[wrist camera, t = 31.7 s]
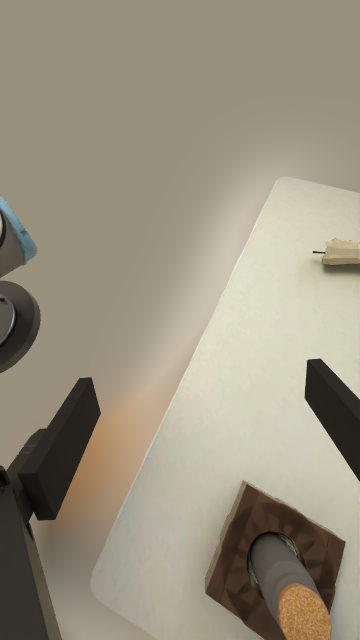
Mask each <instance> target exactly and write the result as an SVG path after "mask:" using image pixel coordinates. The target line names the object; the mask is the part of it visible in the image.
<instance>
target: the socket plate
mask: <svg viewBox="0 0 360 640" xmlns="http://www.w3.org/2000/svg"><path fill="white" fill-rule="evenodd" d="M268 531H273V532H280V533H282V534H284V535H285V536H287V537H289V538H290V539H291V540H292V542H293V545H294V547H295V550H296V552H297V558H298V560H299V561H300V562H301V563H302V565H303V566H304V567H305V569H306V570H307V572H308V573H309V574H310V576H311V578H312V579H313V581H314V583H315V586H316V589H317V591H318V592H319V594H320V596H321V599H322V601H323V602H324V604H325V606H326V608H327V611H328V613H329V615H330V611H331V607H332V603H333V599H334V595H335V583H336V579H337V575H338V571H339V567H340V563H341V559H342V555H343V551H344V547H345V543H346V542H345V541H344V540H342V539H341V538H340V537H338V536H337V535H336V534H334V533H333V532H331V531H330V530H328V529H326V528H324V527H323V526H321V525H319V524H318V523H316V522H314V521H313V520H311V519H309V518H307V517H306V516H304V515H303V514H302V513H300V512H299V511H298V510H297V509H295V508H293V507H292V506H290V505H288V504H287V503H285V502H283V501H281V500H280V499H278V498H273V497H272V496H270V495H268V494H267V493H265V492H263V491H261V490H260V489H258V488H256V487H255V486H253V485H251V484H250V483H248V482H246V481H244V480H243V482H242V485H241V487H240V490H239V492H238V495H237V497H236V500H235V503H234V505H233V508H232V510H231V513H230V514H229V515H228V516H227V519H226V522H225V524H224V527H223V529H222V532H221V534H220V542H219V544H218V547H217V549H216V552H215V554H214V557H213V560H212V562H211V565H210V567H209V570H208V573H207V575H206V578H205V593H206V594H207V595H209V596H210V597H211V598H213V599H214V600H215V601H217V602H218V603H220V604H221V605H222V606H224V607H225V608H226V609H228V610H229V611H231V612H232V613H233V614H235V615H236V616H237V617H239V618H240V619H241V620H242V621H243V623H244V624H245V625H246V626H248V627H249V628H250V629H252V630H253V631H254V632H256V633H257V634H258V635H260V636H261V637H263V638H264V639H265V640H287V639H286V637H285V635H284V633H283V631H282V630H281V628H280V627H279V625H278V623H277V621H276V620H275V618H274V617H273V616H272V614H271V613H270V611H269V609H268V607H267V604H266V602H265V600H264V597H263V594H262V592H261V589H260V586H259V584H257V583H256V582H255V581H254V580H253V578H252V577H251V576H250V574H249V573H248V571H247V553H248V551H249V548H250V545H251V543H252V542H253V540H254V539H255V538H256V537H257V536H258V535H259V534H262V533H265V532H268Z"/></svg>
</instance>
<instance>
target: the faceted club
mask: <svg viewBox="0 0 360 640" xmlns="http://www.w3.org/2000/svg"><path fill="white" fill-rule="evenodd" d="M325 244H326V246H327V248H326V252H317V251H313V253H324V254H325V255H324V256H323V257H322V260H323V262H322V264H328V265H337V264H350V263H352V264H360V243H355V242H353V241H351V240H339V239H333V240H331V241H329V242H326V243H325Z"/></svg>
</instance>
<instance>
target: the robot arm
mask: <svg viewBox="0 0 360 640" xmlns="http://www.w3.org/2000/svg"><path fill="white" fill-rule="evenodd" d="M36 254H37V247H36V245H35V243H34V241H33V240H32V238H31V237H30V235H29V234H28V232H27V231H26V230H25V228H24V227H23V225H22V224H21V222H20V221H19V219H18V218H17V216H16V215H15V213H14V212H13V211H12V209H11V208H10V207H9V205H8V204H7V203H6V201H5V200H4V199H3V198H2V197H1V196H0V278H1V277H3V276H4V275H6V274H8V273H9V272H11V271H13V270H14V269H16V268H17V267H19V266H21V265H25V264H26V262H27V261H29V260H30V259H32V258H33V257H34V256H35V255H36ZM16 323H17V310H16V307H15V305H14V303H13V302H12V301H11V300H10V299H8V298H7V297H6V296H4V295H2V294H0V347H1V346H3V345H4V344H5V343H6V341H7V340H8V339H9V338H10V336H11V335H12V333H13V331H14V329H15V326H16ZM305 399H306V401H307V402H308V404H309V406H310V407H311V409H312V410H313V412H314V413H315V415H316V416H317V418H318V419H319V421H320V422H321V424H322V425H323V427H324V428H325V430H326V431H327V433H328V434H329V436H330V437H331V439H332V440H333V442H334V443H335V445H336V447H337V448H338V450H339V451H340V453H341V454H342V456H343V457H344V459H345V460H346V462H347V463H348V465H349V466H350V468H351V469H352V471H353V472H354V474H355V475H356V477H357V478H358V480H359V481H360V399H359V398H358V397H357V396H356V395H355V394H354V393H353V392H352V391H351V390H350V389H349V388H348V387H347V386H346V385H345V384H344V383H343V382H342V381H341V380H340V378H339V377H338V376H337V375H336V374H335V373H334V372H333V371H332V370H331V369H330V368H329V367H328V366H327V365H326V364H325V363H324V362H323V361H322V360H321V359H310V360H307V372H306V386H305ZM100 414H101V412H100V408H99V405H98V401H97V397H96V393H95V389H94V385H93V382H92V378H90V377H89V378H79V380H78V381H77V383H76V384H75V386H74V388H73V389H72V390H71V392H70V394H69V395H68V397H67V398H66V400H65V401H64V403H63V404H62V406H61V408H60V409H59V410H58V412H57V414H56V415H55V417H54V418H53V420H52V421H51V423H50V425H49V426H48V427H47V428H46V429H39V430H38V431H36V433H34V434H33V435H32V436H31V437H30V438H29V439H28V441H27V442H26V444H25V445H24V447H23V448H22V449H21V451H20V452H19V455H17V456H16V458H15V459H14V461H13V462H12V463H11V465H10V466H9V468H8V469H7V471H5V469H4V467H3V466H0V640H62V638H61V635H60V631H59V627H58V624H57V620H56V617H55V613H54V609H53V606H52V602H51V598H50V594H49V591H48V587H47V584H46V580H45V576H44V572H43V569H42V565H41V561H40V558H39V554H38V550H37V547H36V543H35V539H34V536H33V532H32V528H31V525H30V523H29V520H30V518H31V516H32V514H33V512H34V513H35V515H36V517H37V520H55V519H56V517H57V514H58V512H59V510H60V507H61V505H62V502H63V500H64V498H65V496H66V493H67V491H68V488H69V486H70V483H71V481H72V479H73V477H74V474H75V472H76V470H77V467H78V465H79V463H80V460H81V458H82V456H83V453H84V451H85V449H86V446H87V444H88V442H89V439H90V437H91V435H92V432H93V430H94V427H95V425H96V423H97V421H98V418H99V416H100Z"/></svg>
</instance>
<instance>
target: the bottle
mask: <svg viewBox="0 0 360 640" xmlns="http://www.w3.org/2000/svg"><path fill="white" fill-rule="evenodd" d="M250 560H251V564H252V567H253V570H254V573H255V575H256V578H257V581H258V584H259V586H260V589H261V592H262V594H263V597H264V600H265V602H266V604H267V607H268V609H269V611H270V613H271V614H272V616H273V617H274V618H275V620H276V621H277V623H278V625H279V627H280V628H281V630H282V631H283V633H284V635H285V637H286V639H287V640H329V638H330V634H331V622H330V617H329V613H328V611H327V608H326V606H325V604H324V602H323V601H322V599H321V596H320V594H319V592H318V591H317V589H316V586H315V583H314V581H313V579H312V578H311V576H310V574H309V573H308V572H307V570H306V569H305V567H304V566H303V565H302V563H301V562H300V561H299V560H298V558H297V557H296V556H295V554H294V553H293V552H292V551H291V549H290V548H289V547H288V545H287V544H286V543H285V542H284V540H283V539H282V538H280V537H279V536H278V535H276V534H274V533H271V532H265V533H262V534H259V535H258V536H257V537H256V538H255V539H254V540H253V542H252V544H251V547H250Z"/></svg>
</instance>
